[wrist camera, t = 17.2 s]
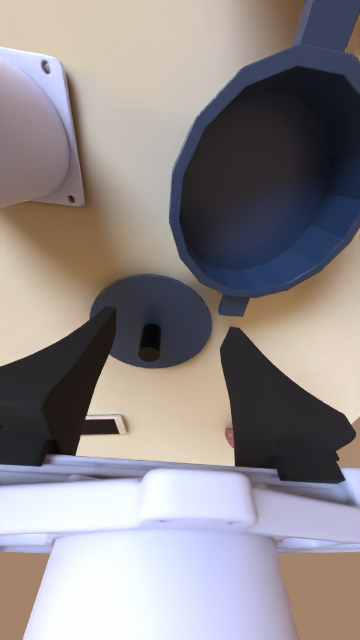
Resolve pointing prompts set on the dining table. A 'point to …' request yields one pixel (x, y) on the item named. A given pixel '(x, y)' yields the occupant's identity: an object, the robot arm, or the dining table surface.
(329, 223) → the pot
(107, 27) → the dining table surface
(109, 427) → the cell phone
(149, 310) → the pot lid
